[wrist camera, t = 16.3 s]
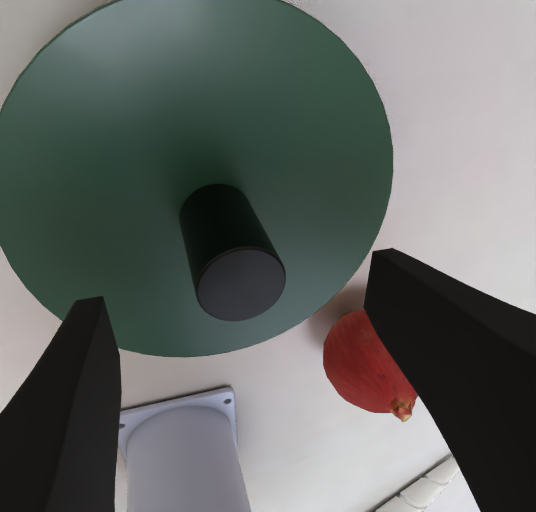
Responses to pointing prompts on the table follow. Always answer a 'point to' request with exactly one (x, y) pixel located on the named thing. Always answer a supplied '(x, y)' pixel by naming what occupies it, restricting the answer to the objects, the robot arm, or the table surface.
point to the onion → (366, 368)
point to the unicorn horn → (423, 489)
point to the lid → (193, 171)
